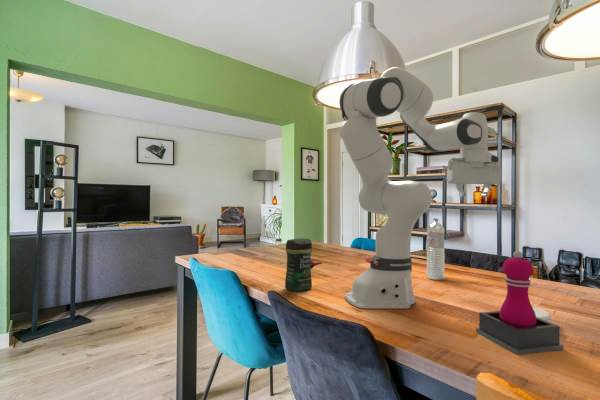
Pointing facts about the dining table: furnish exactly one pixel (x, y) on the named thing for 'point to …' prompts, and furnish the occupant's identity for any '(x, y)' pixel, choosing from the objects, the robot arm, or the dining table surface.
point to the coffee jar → (298, 265)
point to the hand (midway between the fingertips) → (473, 196)
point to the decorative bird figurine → (314, 264)
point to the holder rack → (520, 334)
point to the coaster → (542, 314)
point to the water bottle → (435, 251)
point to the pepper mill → (517, 293)
